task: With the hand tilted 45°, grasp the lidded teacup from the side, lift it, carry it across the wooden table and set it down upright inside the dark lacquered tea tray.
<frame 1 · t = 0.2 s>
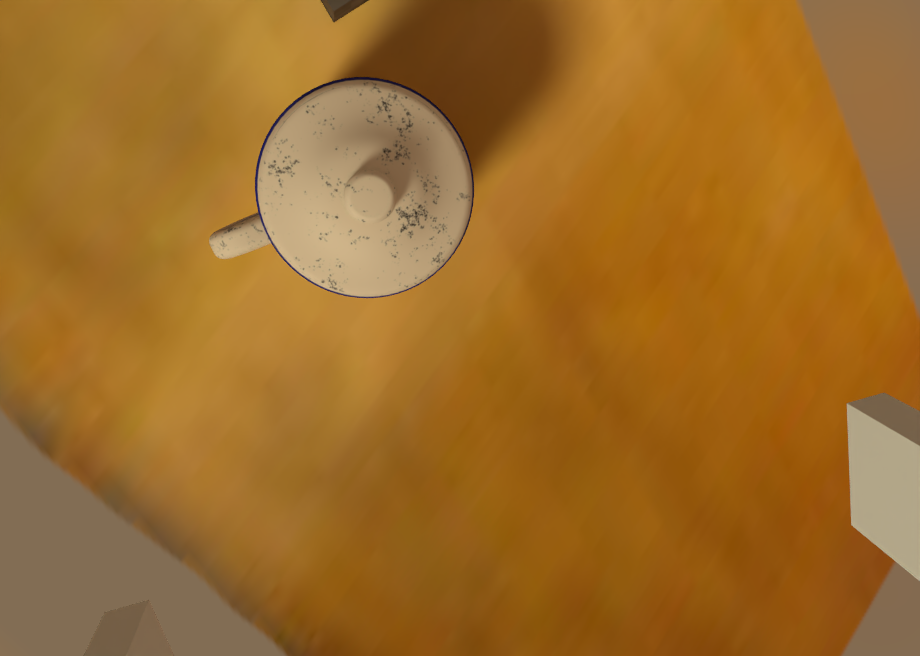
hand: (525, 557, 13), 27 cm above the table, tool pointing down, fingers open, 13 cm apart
teacup with lid: (335, 191, 37), on the table
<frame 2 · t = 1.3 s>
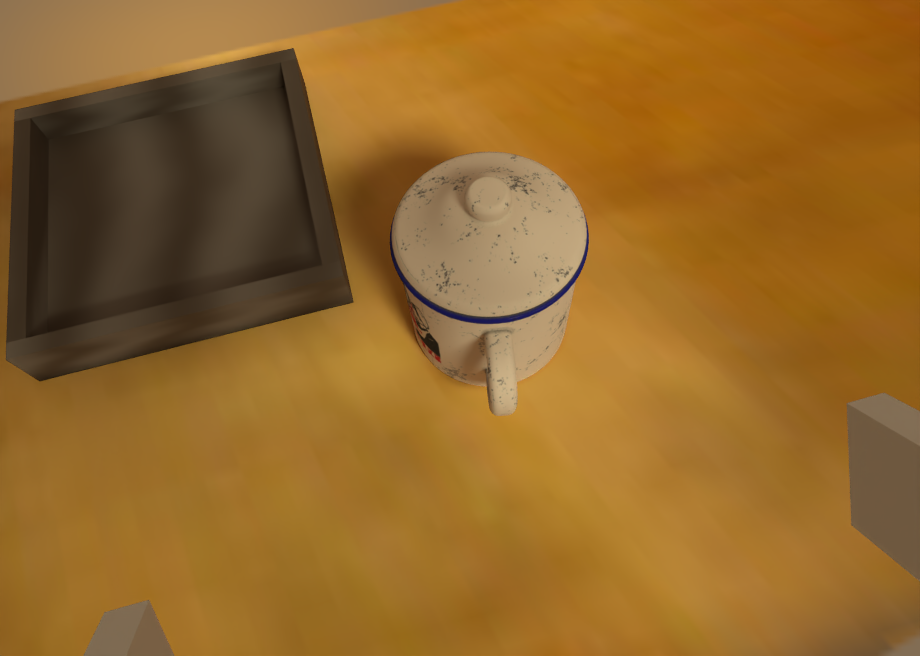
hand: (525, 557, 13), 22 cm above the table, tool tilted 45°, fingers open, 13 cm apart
teacup with lid: (492, 342, 39), on the table
tea tray: (186, 216, 43), on the table
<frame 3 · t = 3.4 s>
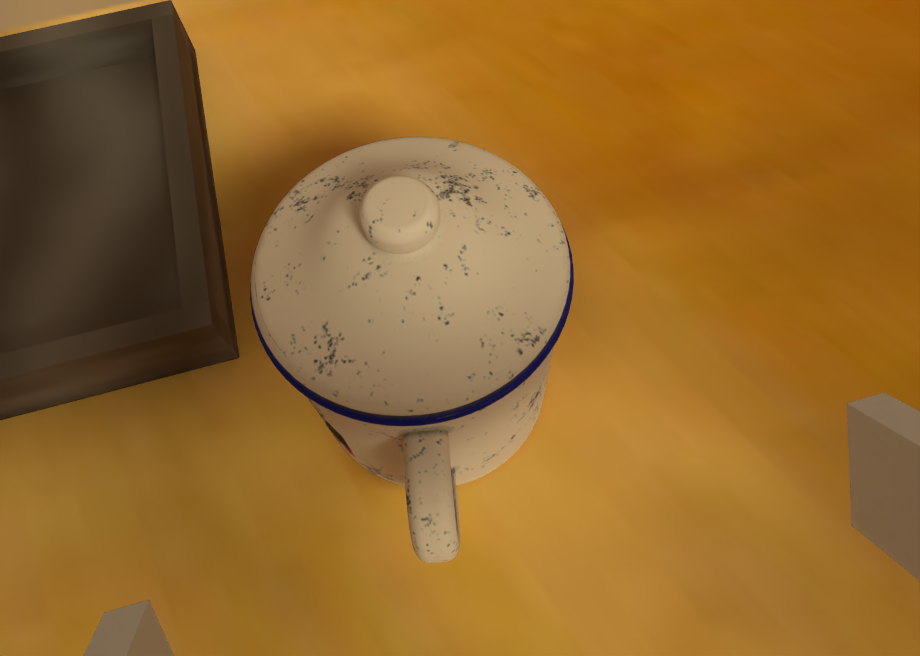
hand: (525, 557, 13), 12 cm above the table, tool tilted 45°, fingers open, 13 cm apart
teacup with lid: (436, 418, 27), on the table
tea tray: (15, 233, 31), on the table
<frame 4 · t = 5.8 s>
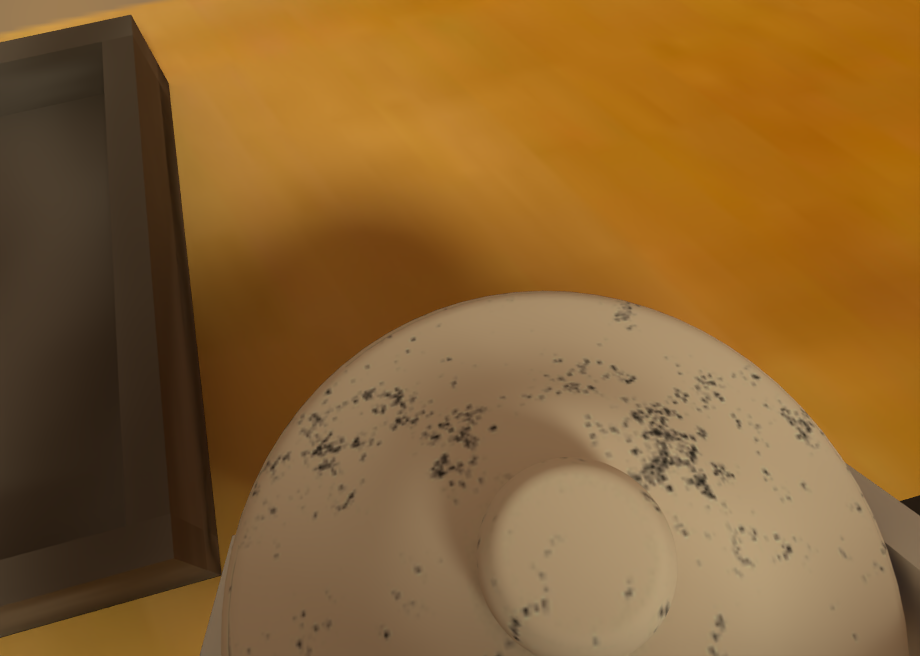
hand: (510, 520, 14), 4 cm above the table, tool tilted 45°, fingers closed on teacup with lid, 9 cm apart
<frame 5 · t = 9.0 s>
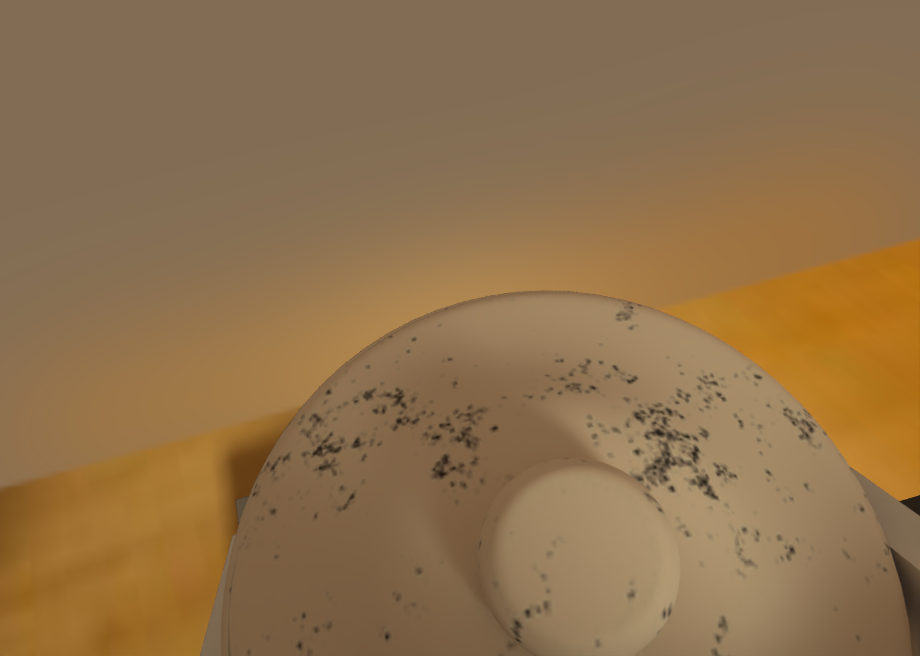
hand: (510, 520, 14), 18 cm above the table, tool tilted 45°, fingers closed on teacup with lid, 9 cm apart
when the fingers open (7 cm above the table, at t = 11.8 s): teacup with lid drops 1 cm, resting on tea tray.
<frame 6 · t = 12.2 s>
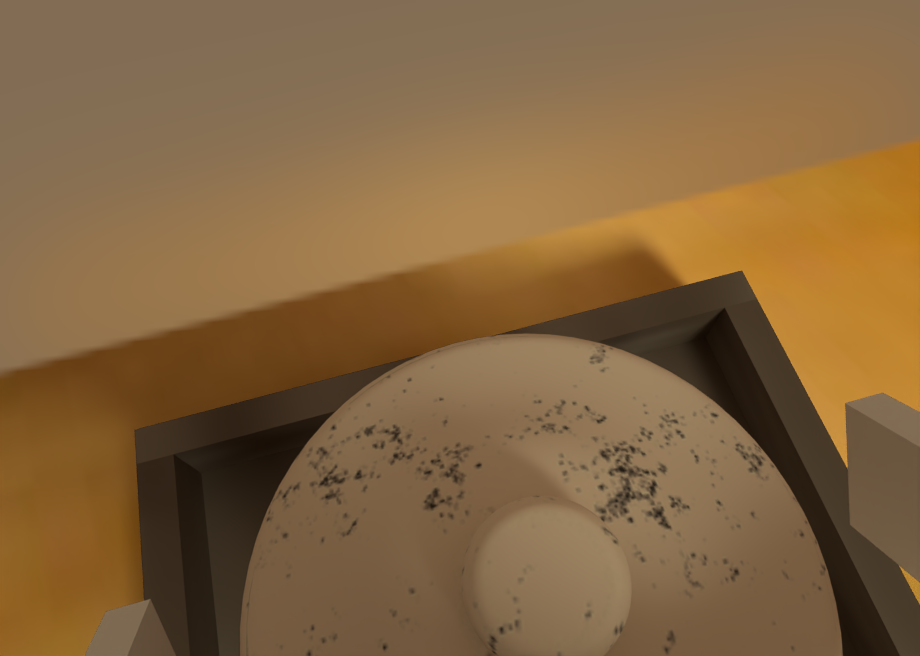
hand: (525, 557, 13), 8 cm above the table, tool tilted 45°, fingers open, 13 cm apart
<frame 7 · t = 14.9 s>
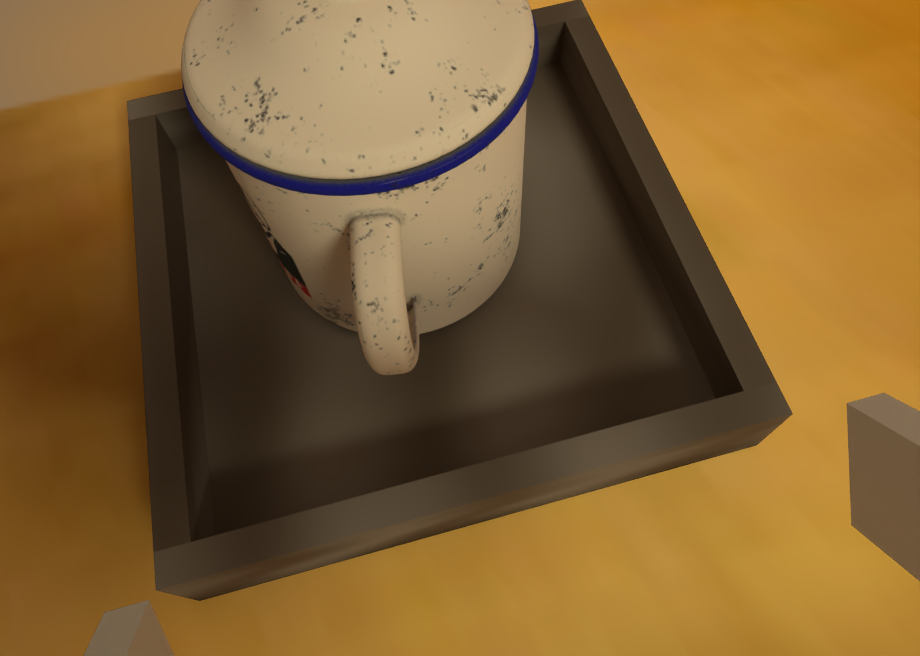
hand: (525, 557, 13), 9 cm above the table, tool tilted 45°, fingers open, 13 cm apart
teacup with lid: (403, 271, 25), point 1 cm above the table, touching tea tray
tea tray: (420, 280, 26), on the table
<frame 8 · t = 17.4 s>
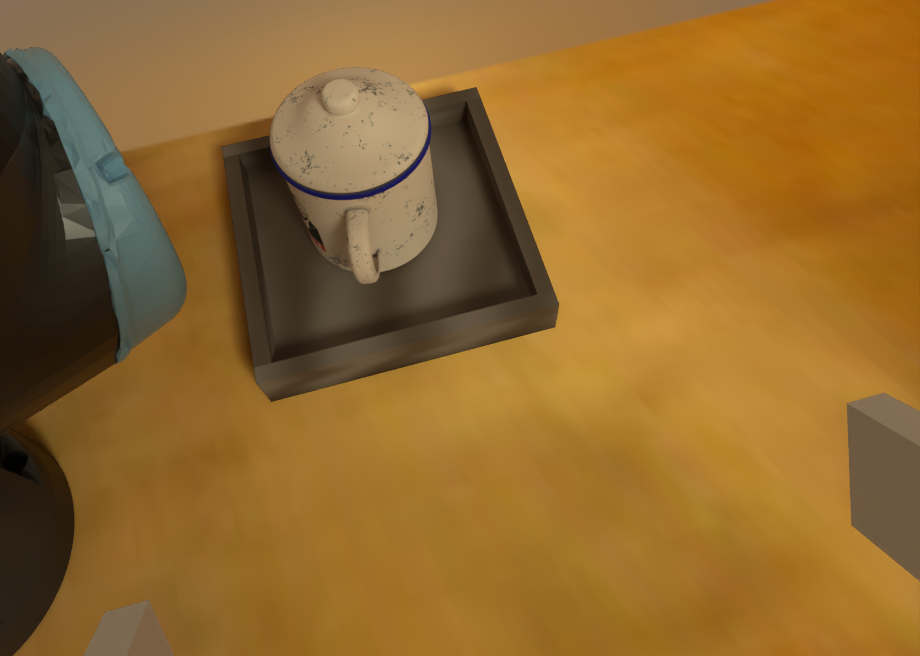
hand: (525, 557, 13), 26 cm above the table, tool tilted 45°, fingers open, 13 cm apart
teacup with lid: (375, 240, 46), point 1 cm above the table, touching tea tray
tea tray: (384, 245, 47), on the table
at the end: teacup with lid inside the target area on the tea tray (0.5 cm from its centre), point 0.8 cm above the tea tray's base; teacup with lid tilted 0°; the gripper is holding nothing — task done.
